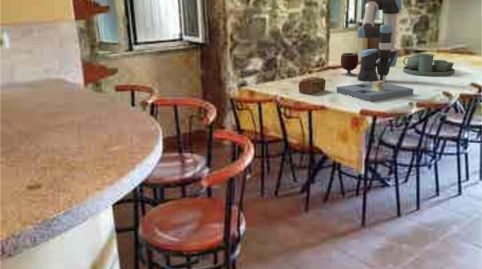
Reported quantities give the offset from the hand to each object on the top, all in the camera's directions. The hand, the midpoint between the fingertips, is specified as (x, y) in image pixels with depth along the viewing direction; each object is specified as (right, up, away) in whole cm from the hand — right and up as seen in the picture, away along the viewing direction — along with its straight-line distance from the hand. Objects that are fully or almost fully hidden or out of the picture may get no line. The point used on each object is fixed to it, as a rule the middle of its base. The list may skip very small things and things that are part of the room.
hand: (382, 85), depth 314 cm
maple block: (-3, -3, 0) cm, 4 cm away
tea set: (+62, +19, +81) cm, 103 cm away
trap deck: (-4, -5, +5) cm, 8 cm away
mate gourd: (-5, +16, +73) cm, 75 cm away
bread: (-44, -3, +16) cm, 47 cm away
